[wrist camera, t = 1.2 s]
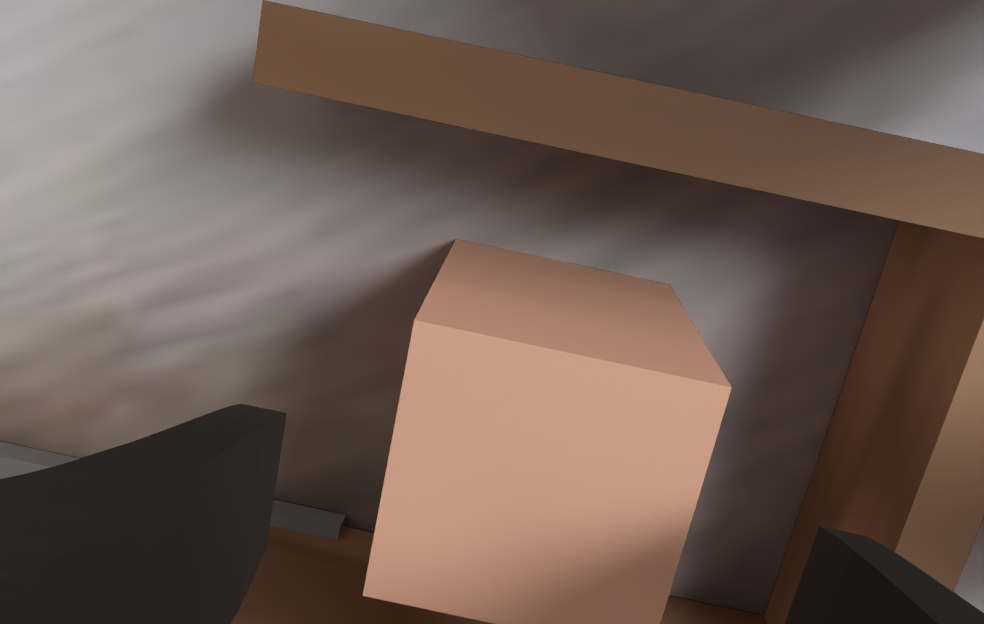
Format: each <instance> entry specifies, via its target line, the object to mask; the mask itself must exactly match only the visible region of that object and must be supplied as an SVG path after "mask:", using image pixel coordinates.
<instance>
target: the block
mask: <svg viewBox="0 0 984 624" xmlns="http://www.w3.org/2000/svg"><path fill="white" fill-rule="evenodd" d="M731 389H732V387H731V385H730V384H729V382H728V380H727V379H726V377H725V375H724V374H723V372H722V370H721V369H720V367H719V365H718V364H717V362H716V360H715V359H714V357H713V355H712V354H711V352H710V350H709V349H708V347H707V345H706V344H705V342H704V340H703V339H702V337H701V335H700V334H699V332H698V330H697V329H696V327H695V325H694V324H693V322H692V320H691V319H690V317H689V315H688V314H687V312H686V310H685V309H684V307H683V305H682V304H681V302H680V300H679V299H678V297H677V295H676V294H675V292H674V291H673V289H672V287H671V286H670V285H669V284H665V283H660V282H655V281H651V280H646V279H641V278H637V277H632V276H627V275H622V274H618V273H613V272H608V271H604V270H599V269H594V268H590V267H585V266H580V265H576V264H571V263H566V262H561V261H557V260H552V259H547V258H543V257H538V256H533V255H529V254H524V253H519V252H514V251H510V250H505V249H500V248H496V247H491V246H486V245H482V244H477V243H472V242H467V241H463V240H458V239H456V240H455V242H454V244H453V246H452V248H451V250H450V252H449V253H448V255H447V257H446V259H445V261H444V263H443V265H442V267H441V269H440V271H439V273H438V275H437V277H436V279H435V281H434V283H433V284H432V286H431V288H430V290H429V292H428V294H427V296H426V298H425V300H424V302H423V304H422V306H421V308H420V310H419V312H418V313H417V315H416V317H415V319H414V324H413V329H412V334H411V340H410V345H409V350H408V356H407V361H406V366H405V372H404V377H403V382H402V388H401V393H400V398H399V404H398V409H397V414H396V420H395V425H394V430H393V436H392V441H391V446H390V452H389V457H388V463H387V468H386V473H385V479H384V484H383V489H382V495H381V500H380V505H379V511H378V516H377V521H376V527H375V532H374V537H373V543H372V548H371V553H370V559H369V564H368V569H367V575H366V580H365V585H364V591H363V596H366V597H371V598H376V599H381V600H385V601H390V602H395V603H399V604H404V605H409V606H414V607H418V608H423V609H428V610H432V611H437V612H442V613H446V614H451V615H456V616H461V617H465V618H470V619H475V620H479V621H484V622H489V623H493V624H660V623H661V620H662V616H663V613H664V610H665V606H666V603H667V600H668V596H669V593H670V590H671V587H672V583H673V580H674V577H675V573H676V570H677V567H678V564H679V560H680V557H681V554H682V550H683V547H684V544H685V540H686V537H687V534H688V531H689V527H690V524H691V521H692V517H693V514H694V511H695V507H696V504H697V501H698V498H699V494H700V491H701V488H702V484H703V481H704V478H705V474H706V471H707V468H708V465H709V461H710V458H711V455H712V451H713V448H714V445H715V441H716V438H717V435H718V432H719V428H720V425H721V422H722V418H723V415H724V412H725V409H726V405H727V402H728V399H729V395H730V392H731Z"/></svg>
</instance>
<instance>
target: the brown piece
mask: <svg viewBox="0 0 984 624" xmlns="http://www.w3.org/2000/svg"><path fill="white" fill-rule="evenodd" d="M253 83H258V84H263V85H267V86H272V87H277V88H281V89H286V90H291V91H295V92H300V93H305V94H310V95H314V96H319V97H324V98H328V99H333V100H338V101H342V102H347V103H352V104H356V105H361V106H366V107H370V108H375V109H380V110H385V111H389V112H394V113H399V114H403V115H408V116H413V117H417V118H422V119H427V120H431V121H436V122H441V123H445V124H450V125H455V126H460V127H464V128H469V129H474V130H478V131H483V132H488V133H492V134H497V135H502V136H506V137H511V138H516V139H520V140H525V141H530V142H535V143H539V144H544V145H549V146H553V147H558V148H563V149H567V150H572V151H577V152H581V153H586V154H591V155H595V156H600V157H605V158H610V159H614V160H619V161H624V162H628V163H633V164H638V165H642V166H647V167H652V168H656V169H661V170H666V171H670V172H675V173H680V174H685V175H689V176H694V177H699V178H703V179H708V180H713V181H717V182H722V183H727V184H731V185H736V186H741V187H745V188H750V189H755V190H760V191H764V192H769V193H774V194H778V195H783V196H788V197H792V198H797V199H802V200H806V201H811V202H816V203H820V204H825V205H830V206H835V207H839V208H844V209H849V210H853V211H858V212H863V213H867V214H872V215H877V216H881V217H886V218H891V219H896V220H899V223H898V226H897V229H896V232H895V235H894V238H893V241H892V244H891V247H890V250H889V253H888V255H887V258H886V261H885V264H884V267H883V270H882V273H881V276H880V279H879V282H878V285H877V288H876V291H875V294H874V296H873V299H872V302H871V305H870V308H869V311H868V314H867V317H866V320H865V323H864V326H863V329H862V332H861V334H860V337H859V340H858V343H857V346H856V349H855V352H854V355H853V358H852V361H851V364H850V367H849V370H848V372H847V375H846V378H845V381H844V384H843V387H842V390H841V393H840V396H839V399H838V402H837V405H836V408H835V410H834V413H833V416H832V419H831V422H830V425H829V428H828V431H827V434H826V437H825V440H824V443H823V446H822V449H821V451H820V454H819V457H818V460H817V463H816V466H815V469H814V472H813V475H812V478H811V481H810V484H809V487H808V489H807V492H806V495H805V498H804V501H803V504H802V507H801V510H800V513H799V516H798V519H797V522H796V525H795V527H794V530H793V533H792V536H791V539H790V542H789V545H788V548H787V551H786V554H785V557H784V560H783V563H782V566H781V568H780V571H779V574H778V577H777V580H776V583H775V586H774V589H773V592H772V595H771V598H770V601H769V604H768V606H767V609H766V612H765V615H764V616H763V615H758V614H753V613H748V612H744V611H739V610H734V609H730V608H725V607H720V606H715V605H711V604H706V603H701V602H697V601H692V600H687V599H683V598H678V597H673V596H668V600H667V603H666V606H665V610H664V613H663V616H662V620H661V623H660V624H785V622H786V619H787V616H788V613H789V610H790V607H791V605H792V602H793V599H794V596H795V593H796V590H797V588H798V585H799V582H800V579H801V576H802V573H803V571H804V568H805V565H806V562H807V559H808V556H809V554H810V551H811V548H812V545H813V542H814V539H815V537H816V534H817V531H818V528H819V526H821V527H826V528H831V529H835V530H840V531H845V532H849V533H854V534H859V535H864V536H866V537H868V538H870V539H872V540H874V541H876V542H878V543H880V544H882V545H883V546H885V547H887V548H888V549H890V550H892V551H893V552H895V553H897V554H898V555H900V556H901V557H903V558H904V559H906V560H907V561H909V562H910V563H912V564H913V565H915V566H916V567H918V568H919V569H921V570H922V571H924V572H925V573H927V574H928V575H929V576H931V577H932V578H934V579H935V580H937V581H938V582H939V583H941V584H942V585H944V586H945V587H947V588H948V589H950V590H951V591H952V592H954V589H955V587H956V584H957V582H958V579H959V577H960V575H961V572H962V570H963V567H964V565H965V562H966V560H967V558H968V555H969V553H970V550H971V548H972V545H973V543H974V540H975V538H976V536H977V533H978V531H979V528H980V526H981V523H982V521H983V519H984V154H981V153H976V152H972V151H967V150H962V149H958V148H953V147H948V146H944V145H939V144H934V143H930V142H925V141H920V140H916V139H911V138H906V137H902V136H897V135H892V134H887V133H883V132H878V131H873V130H869V129H864V128H859V127H855V126H850V125H845V124H841V123H836V122H831V121H827V120H822V119H817V118H813V117H808V116H803V115H798V114H794V113H789V112H784V111H780V110H775V109H770V108H766V107H761V106H756V105H752V104H747V103H742V102H738V101H733V100H728V99H724V98H719V97H714V96H709V95H705V94H700V93H695V92H691V91H686V90H681V89H677V88H672V87H667V86H663V85H658V84H653V83H649V82H644V81H639V80H635V79H630V78H625V77H620V76H616V75H611V74H606V73H602V72H597V71H592V70H588V69H583V68H578V67H574V66H569V65H564V64H560V63H555V62H550V61H546V60H541V59H536V58H531V57H527V56H522V55H517V54H513V53H508V52H503V51H499V50H494V49H489V48H485V47H480V46H475V45H471V44H466V43H461V42H457V41H452V40H447V39H442V38H438V37H433V36H428V35H424V34H419V33H414V32H410V31H405V30H400V29H396V28H391V27H386V26H382V25H377V24H372V23H368V22H363V21H358V20H353V19H349V18H344V17H339V16H335V15H330V14H325V13H321V12H316V11H311V10H307V9H302V8H297V7H293V6H288V5H283V4H279V3H274V2H269V1H264V0H263V2H262V10H261V19H260V27H259V35H258V43H257V51H256V60H255V68H254V76H253ZM373 537H374V533H372V532H367V531H363V530H358V529H353V528H348V527H344V526H343V529H342V531H341V533H340V536H339V538H338V540H334V539H329V538H324V537H320V536H315V535H310V534H305V533H301V532H296V531H291V530H287V529H282V528H277V527H273V526H270V527H269V534H268V540H267V547H266V550H265V552H264V555H263V557H262V559H261V561H260V564H259V566H258V568H257V571H256V573H255V575H254V578H253V580H252V582H251V584H250V587H249V589H248V591H247V593H246V595H245V598H244V600H243V602H242V604H241V606H240V609H239V611H238V612H237V614H236V616H235V617H234V619H233V621H232V622H231V624H493V623H489V622H484V621H479V620H475V619H470V618H465V617H461V616H456V615H451V614H446V613H442V612H437V611H432V610H428V609H423V608H418V607H414V606H409V605H404V604H399V603H395V602H390V601H385V600H381V599H376V598H371V597H366V596H363V591H364V585H365V580H366V575H367V569H368V564H369V559H370V553H371V548H372V543H373Z"/></svg>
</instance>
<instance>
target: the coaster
mask: <svg viewBox="0 0 984 624" xmlns="http://www.w3.org/2000/svg"><path fill="white" fill-rule="evenodd" d="M77 459H80V458H75V457H71V456H66V455H61V454H57V453H52V452H47V451H42V450H38V449H33V448H28V447H24V446H19V445H14V444H10V443H5V442H0V479H3V478H8V477H12V476H17V475H21V474H26V473H30V472H34V471H38V470H42V469H46V468H50V467H53V466H57V465H61V464H64V463H68V462H71V461H74V460H77ZM344 521H345V515H344V514H339V513H334V512H329V511H325V510H320V509H315V508H311V507H306V506H301V505H297V504H292V503H287V502H282V501H278V500H273V506H272V513H271V520H270V526H273V527H277V528H282V529H287V530H291V531H296V532H301V533H305V534H310V535H315V536H320V537H324V538H329V539H334V540H338V538H339V536H340V533H341V531H342V529H343V526H344Z"/></svg>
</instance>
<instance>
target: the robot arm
mask: <svg viewBox="0 0 984 624" xmlns="http://www.w3.org/2000/svg"><path fill="white" fill-rule="evenodd" d="M285 418H286V413H282V412H278V411H273V410H268V409H264V408H259V407H254V406H249V405H245V404H238V405H234V406H230V407H227V408H223V409H220V410H218V411H215V412H212V413H209V414H206V415H204V416H201V417H198V418H196V419H193V420H190V421H188V422H185V423H182V424H180V425H177V426H174V427H172V428H169V429H166V430H164V431H161V432H158V433H155V434H153V435H150V436H147V437H145V438H142V439H139V440H136V441H134V442H130V443H127V444H124V445H121V446H118V447H115V448H112V449H108V450H105V451H102V452H99V453H96V454H93V455H90V456H87V457H83V458H80V459H77V460H74V461H71V462H68V463H64V464H61V465H57V466H53V467H50V468H46V469H42V470H38V471H34V472H30V473H26V474H21V475H17V476H12V477H8V478H3V479H0V624H231V622H232V621H233V619H234V617H235V616H236V614H237V612H238V611H239V609H240V606H241V604H242V602H243V600H244V598H245V595H246V593H247V591H248V589H249V587H250V584H251V582H252V580H253V578H254V575H255V573H256V571H257V568H258V566H259V564H260V561H261V559H262V557H263V555H264V552H265V550H266V547H267V540H268V534H269V527H270V520H271V513H272V506H273V500H274V493H275V486H276V479H277V473H278V466H279V459H280V452H281V445H282V439H283V432H284V425H285ZM785 624H984V613H982V612H981V611H980V610H978V609H977V608H975V607H974V606H972V605H971V604H969V603H968V602H967V601H965V600H964V599H962V598H961V597H960V596H958V595H957V594H955V593H954V592H952V591H951V590H950V589H948V588H947V587H945V586H944V585H942V584H941V583H939V582H938V581H937V580H935V579H934V578H932V577H931V576H929V575H928V574H927V573H925V572H924V571H922V570H921V569H919V568H918V567H916V566H915V565H913V564H912V563H910V562H909V561H907V560H906V559H904V558H903V557H901V556H900V555H898V554H897V553H895V552H893V551H892V550H890V549H888V548H887V547H885V546H883V545H882V544H880V543H878V542H876V541H874V540H872V539H870V538H868V537H866V536H864V535H859V534H854V533H849V532H845V531H840V530H835V529H831V528H826V527H821V526H819V528H818V531H817V534H816V537H815V539H814V542H813V545H812V548H811V551H810V554H809V556H808V559H807V562H806V565H805V568H804V571H803V573H802V576H801V579H800V582H799V585H798V588H797V590H796V593H795V596H794V599H793V602H792V605H791V607H790V610H789V613H788V616H787V619H786V622H785Z"/></svg>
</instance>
